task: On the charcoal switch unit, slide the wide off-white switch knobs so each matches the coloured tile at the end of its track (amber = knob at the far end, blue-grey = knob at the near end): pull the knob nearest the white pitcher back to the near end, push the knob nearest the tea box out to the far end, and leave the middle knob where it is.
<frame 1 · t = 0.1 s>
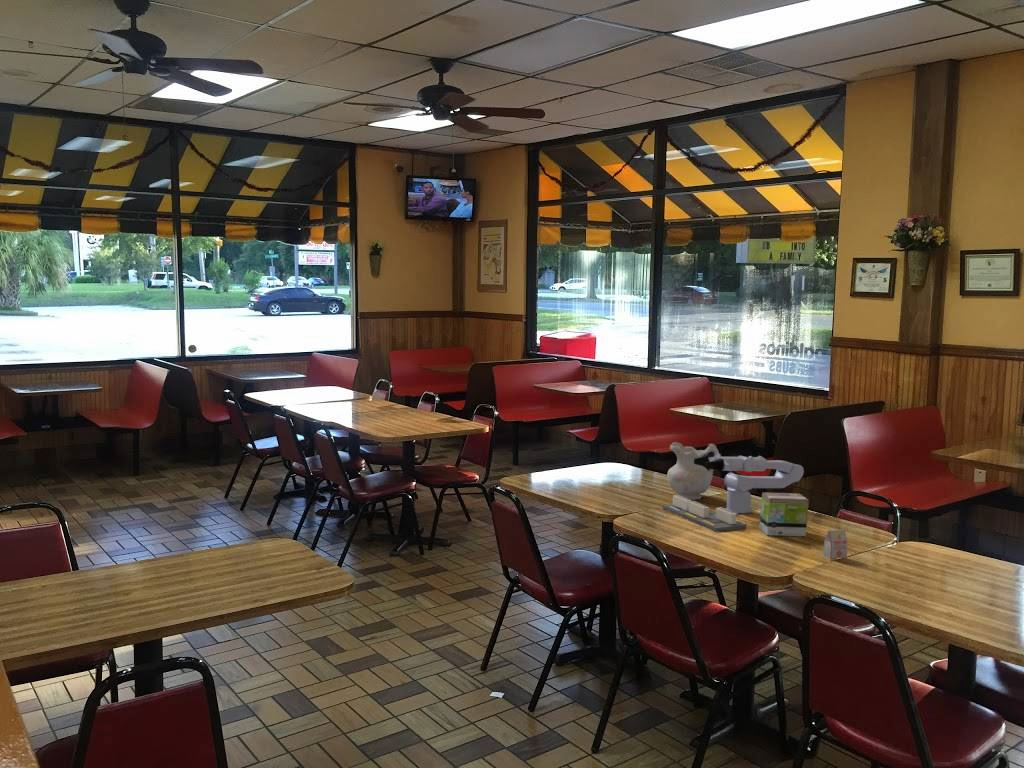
hand: (699, 463, 349), 22 cm above the table, tool horizontal, fingers open, 7 cm apart
tea box: (782, 533, 329), on the table
white gable top carton: (834, 558, 299), on the table
slider 1: (682, 502, 356), point 4 cm above the table, slide at 4.5 cm
ceramic pitcher: (691, 497, 383), on the table
slider 3: (725, 515, 337), point 4 cm above the table, slide at 0.0 cm
switch unit: (702, 518, 347), on the table
slider 2: (698, 508, 346), point 4 cm above the table, slide at 4.5 cm
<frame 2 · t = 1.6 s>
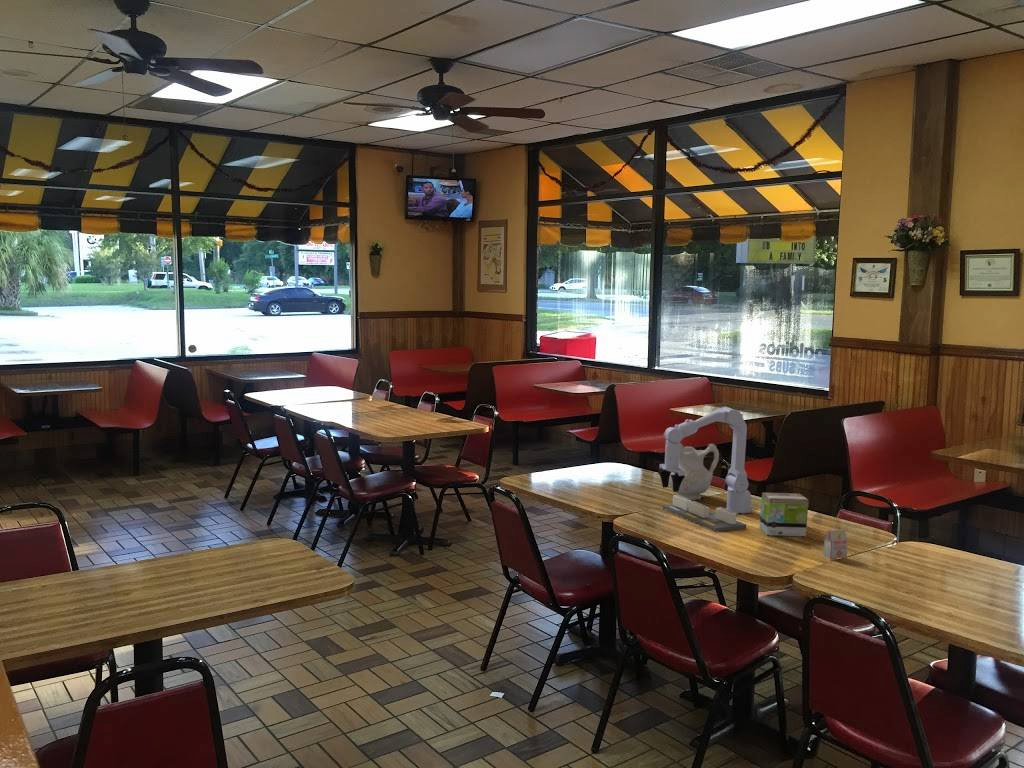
hand: (670, 489, 353), 10 cm above the table, tool pointing down, fingers open, 7 cm apart
nothing on the table moved.
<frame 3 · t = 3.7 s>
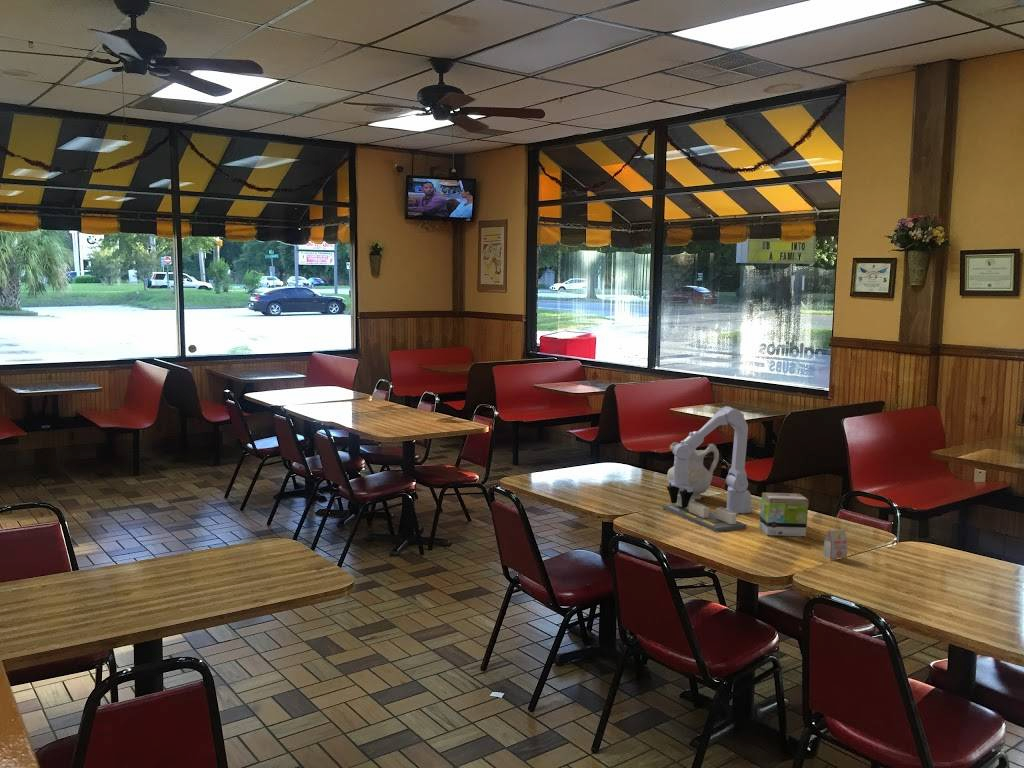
hand: (679, 505, 356), 3 cm above the table, tool pointing down
slider 1: (685, 501, 357), point 4 cm above the table, slide at 2.9 cm, touching gripper
everything else where it was.
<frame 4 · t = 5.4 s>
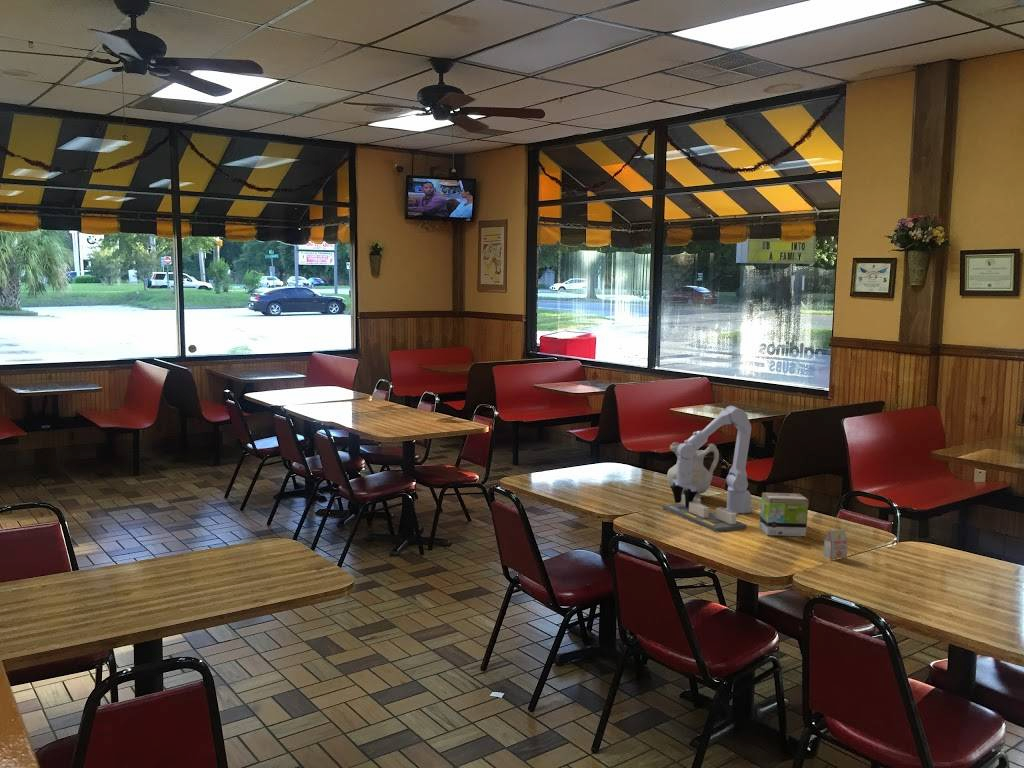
hand: (682, 504, 357), 3 cm above the table, tool pointing down, fingers open, 7 cm apart
slider 1: (691, 501, 358), point 4 cm above the table, slide at 0.0 cm
everything else where it was.
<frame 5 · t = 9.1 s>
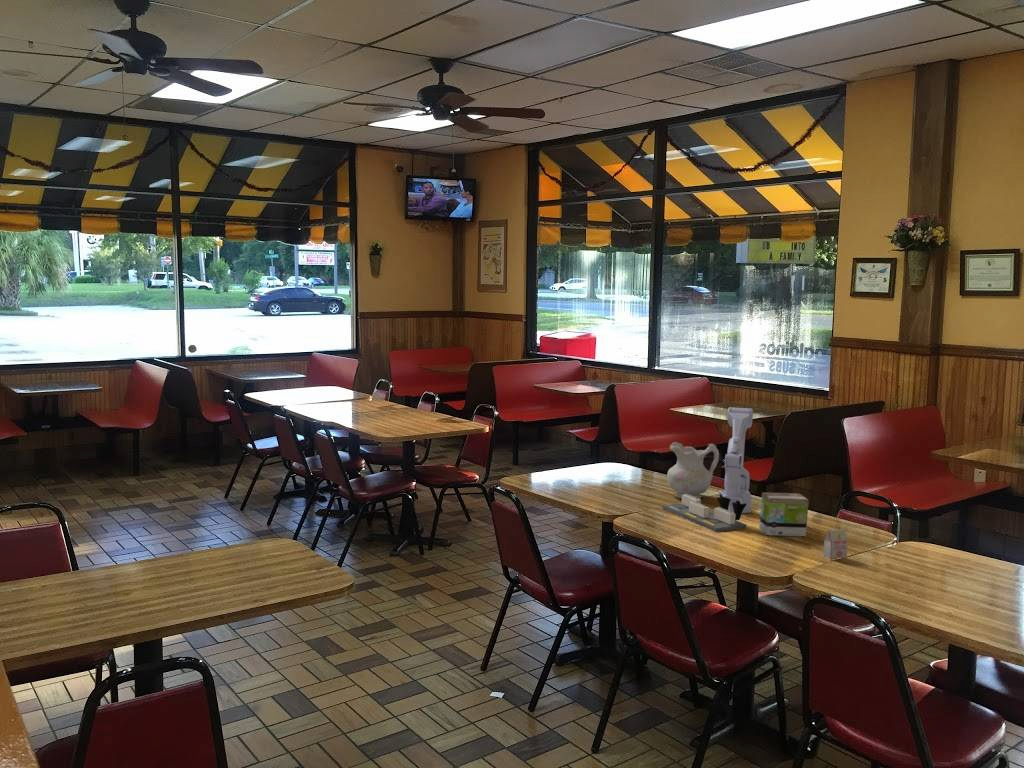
hand: (730, 517, 338), 3 cm above the table, tool pointing down, fingers open, 7 cm apart
slider 3: (724, 515, 337), point 4 cm above the table, slide at 0.6 cm, touching gripper
everything else where it was.
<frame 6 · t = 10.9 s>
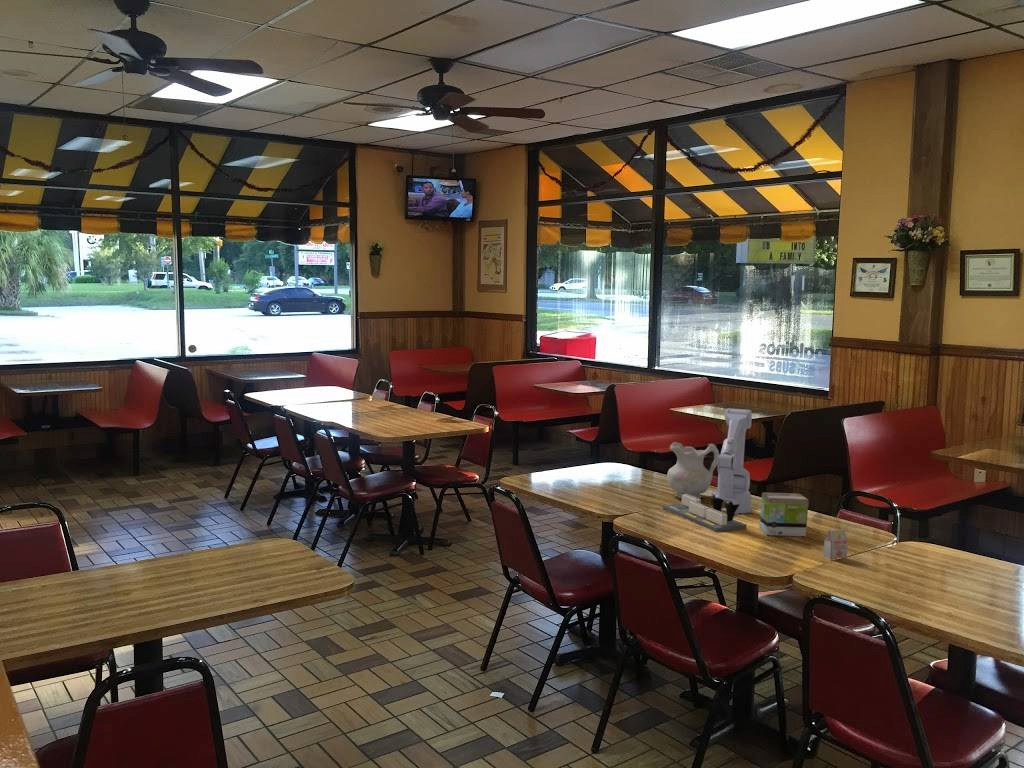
hand: (723, 518, 337), 3 cm above the table, tool pointing down, fingers open, 7 cm apart
slider 3: (716, 516, 336), point 4 cm above the table, slide at 4.5 cm
everything else where it was.
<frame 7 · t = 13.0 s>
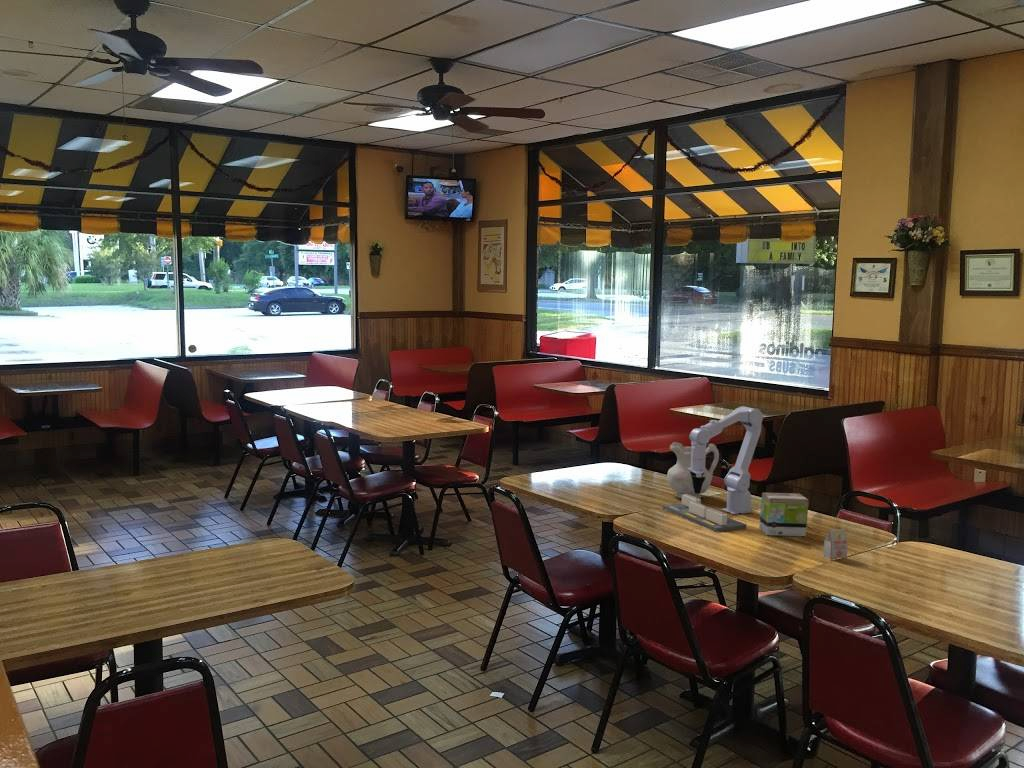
hand: (696, 491, 351), 10 cm above the table, tool pointing down, fingers open, 7 cm apart
nothing on the table moved.
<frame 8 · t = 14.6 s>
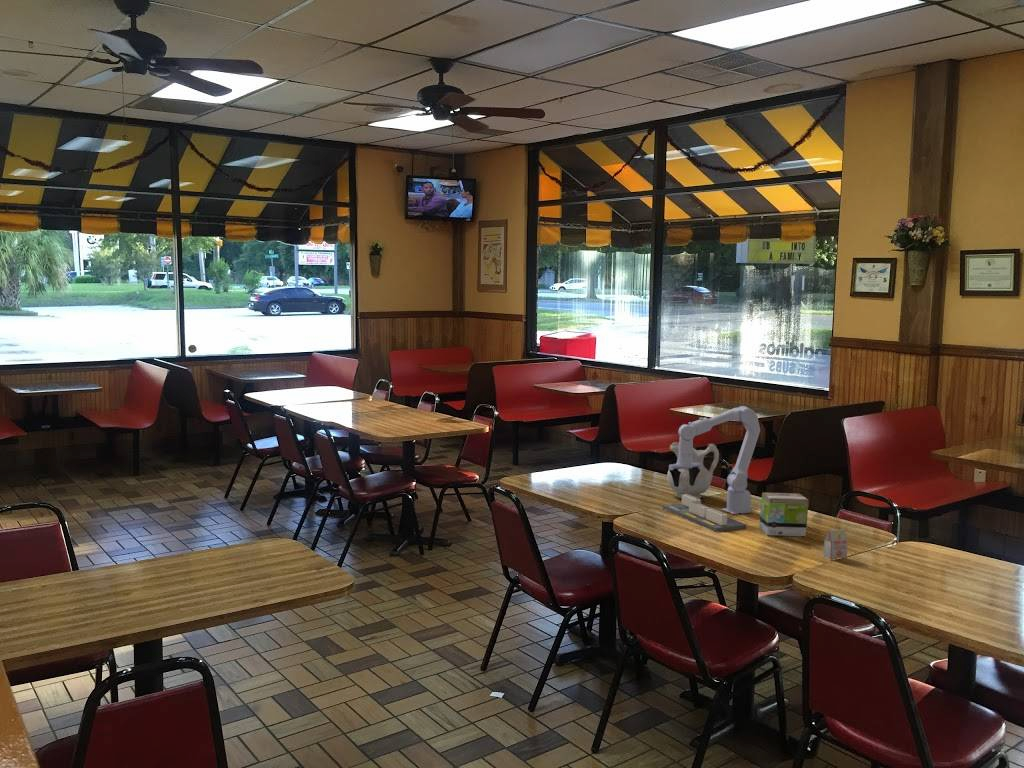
hand: (683, 485, 358), 10 cm above the table, tool pointing down, fingers open, 7 cm apart
nothing on the table moved.
at the end: slider 1 slide at 0.0 cm; slider 3 slide at 4.5 cm; slider 2 slide at 4.5 cm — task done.
